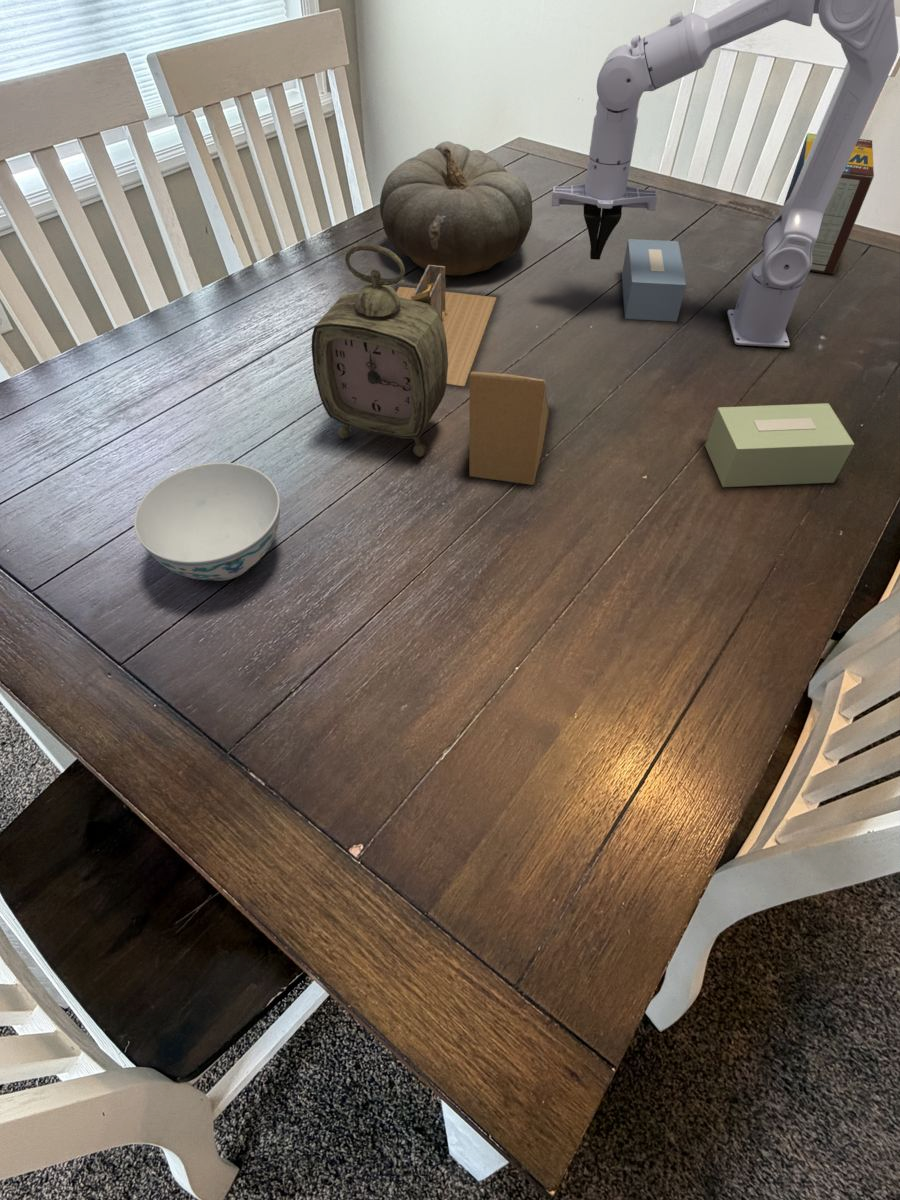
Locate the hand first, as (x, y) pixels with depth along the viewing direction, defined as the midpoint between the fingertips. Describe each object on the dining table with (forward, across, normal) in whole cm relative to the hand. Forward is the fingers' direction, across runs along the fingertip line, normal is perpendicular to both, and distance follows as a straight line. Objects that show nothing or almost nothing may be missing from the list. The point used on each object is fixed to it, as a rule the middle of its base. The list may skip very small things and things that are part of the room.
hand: (594, 256), depth 110 cm
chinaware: (+9, -41, -58) cm, 72 cm away
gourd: (+9, -22, +16) cm, 28 cm away
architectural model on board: (+9, -24, -9) cm, 27 cm away
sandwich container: (+9, -10, -34) cm, 37 cm away
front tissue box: (+8, +22, -35) cm, 43 cm away
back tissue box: (+8, +10, +4) cm, 14 cm away
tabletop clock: (+9, -26, -34) cm, 44 cm away
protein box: (+8, +38, +24) cm, 45 cm away
